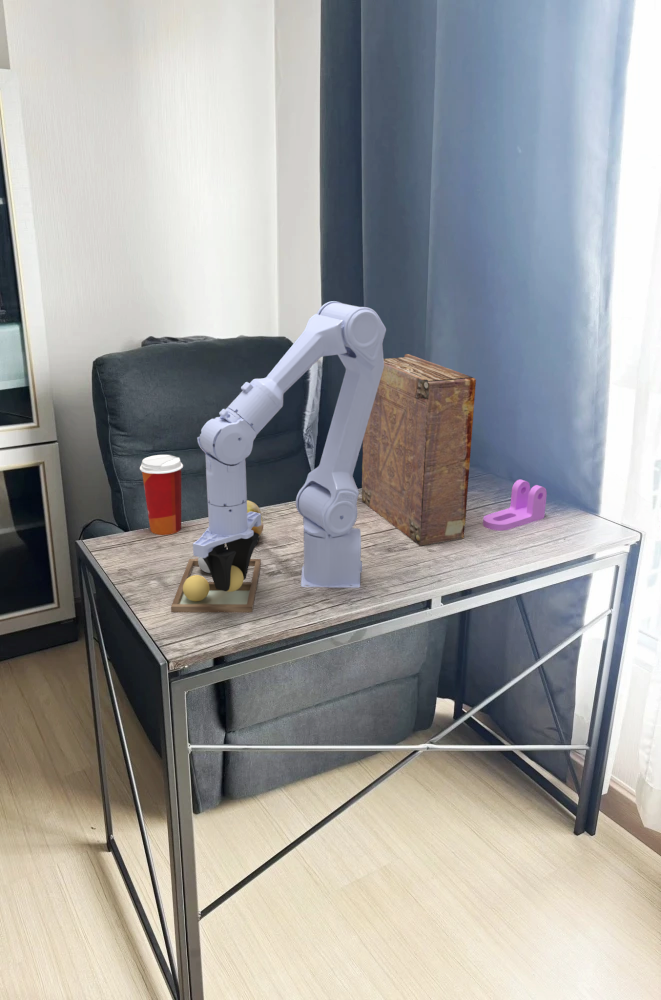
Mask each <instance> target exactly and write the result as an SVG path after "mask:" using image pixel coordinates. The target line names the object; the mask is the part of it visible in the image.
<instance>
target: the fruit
mask: <svg viewBox="0 0 661 1000" xmlns="http://www.w3.org/2000/svg"><path fill="white" fill-rule="evenodd" d="M250 511H251V512H256V513H261V525H260V526H258V527H255V526H254V527H252V529H251V530H253V532H255V533H258V534H259V537H260V536H261V535H262V533H263V531H264V520H263V515H262V512H261V509H260V507H259V506H258V505H257V504H256V503H255V502H253V501H252V500H248V499H247V513H248V512H250Z"/></svg>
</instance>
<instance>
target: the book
mask: <svg viewBox="0 0 661 1000" xmlns="http://www.w3.org/2000/svg"><path fill="white" fill-rule="evenodd" d="M476 383H477V379H476V378H475V377H474V376H471V375H468V374H464V373H462V372H459V371H456V370H454V369H451V368H448V367H445V366H443V365H440V364H437V363H434V362H431V361H428V360H425V359H423V358H421V357H420V358H419V357H417V356H415V355H412V354H410V353H409V354H408V353H405V354H404V357H392V358H384V368H383V372H382V376H381V379H380V382H379V386H378V389H377V393H376V396H375V400H374V403H373V407H372V410H371V413H370V417H369V420H368V424H367V427H366V431H365V434H364V438H363V441H362V463H361V464H362V465H361V469H362V470H361V472H362V473H361V474H362V475H361V501H362V503H363V504H364V505H365V506H367V507H369V508H370V509H371V510H372V511H374V512H375V513H376V514H377V515H379V516H380V517H381V518H382V519H384V520H385V521H387V522H388V523H389V524H391V525H392V526H393V527H395V528H396V529H397V530H399V531H400V532H401V533H403V534H404V535H405V536H406V537H407V538H409V539H411V540H412V541H413V542H414V543H416V544H417V545H418V546H419V547H420V546H422V547H423V546H426V545H427V546H428V545H432V544H438V543H443V542H449V541H450V542H451V541H455V540H461V539H464V538H465V534H466V533H465V531H466V529H465V528H466V517H467V506H468V503H467V502H468V492H469V490H468V488H469V478H470V477H469V475H470V466H471V465H470V464H471V451H472V438H473V424H474V412H475V411H474V410H475V400H476V399H475V398H476V397H475V396H476Z"/></svg>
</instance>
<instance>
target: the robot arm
mask: <svg viewBox="0 0 661 1000" xmlns="http://www.w3.org/2000/svg"><path fill="white" fill-rule="evenodd" d="M386 332H387V328H386V326H385V324H384V323H383V321H382V319H381V317H380V315H378V313H377V311H375V310H374V309H372V308H370V307H366V306H357V305H353V304H352V305H351V304H347V303H343V302H340V301H335V300H333V301H328V302H325V303H324V304H323V305H321V306H320V307H319V309H318V310H317V312H316V313H315V314H313V315H312V316H311V317H309V319H308V320H307V323H306V326H305V328H304V330H303V331H302V333H301V334H300V335H299V336H298V338H297V339H296V340H295V342H293V344H292V345H291V347H290V348H289V349H288V350H287V351H286V352H285V354H283V356H282V357H281V358H280V360H279V361H278V362H277V363H276V364H275V366H274V367H273V368H272V370H271V371H270V372H269V373H268V374H267V376H266V377H264V378H254V379H252V380H251V381H250V382H248V381H246V382H244V383H243V385H242V386H241V387H240V389H241V392H239V394H238V395H237V396H236V398H234V399H233V400H232V402H230V404H229V405H228V406H226V408H222V409H221V410H220V411H219V412H218V413H219V414H218V415H219V416H216V417H214V418H211V419H209V420H207V421H206V423H204V425H203V426H202V428H201V430H200V432H201V433H199V436H197V437H196V439H197V444H198V446H199V448H200V449H201V450H202V451H203V452H204V455H205V468H206V469H205V475H206V476H205V478H206V495H207V497H206V498H207V499H206V500H207V514H208V515H207V516H208V527H207V528H206V529H205V531H204V532H203V533H202V535H201V536H200V537H199V538H198V539H197V540H195V542H193V543H192V551H193V552H192V555H193V556H194V557H198V558H199V557H201V558H203V559H204V561H205V563H206V564H207V566H208V568H209V570H210V573H209V574H210V575H211V578H212V582H214V584H215V587H216V589H219V590H222V591H228V590H229V588H230V579H231V566H232V565H233V566H236V567H238V568H239V569H240V570H241V571H242V573H243V577H244V580H245V579H247V575H248V571H249V567H250V566H249V563H250V559H252V556H253V553H254V550H255V548H256V547H257V544H258V542H259V541H260V536H259V534H258V533H255V532H253V530H251V529H252V527H254V526H255V527H258V526H260V525H261V515H262V512H261V513H256V512H251V511H250V512H248V513H247V500H248V496H247V495H248V494H247V493H248V492H247V469H246V458H248V457H249V456H250V455H251V453H252V450H253V447H254V440H255V439H256V437H257V435H258V434H259V433H260V432H261V430H263V428H265V426H266V425H267V424H268V423H269V422H270V421H271V420H272V419H273V418H274V416H275V415H276V414H277V413H279V411H280V410H281V409H282V408H283V406H284V394H285V393H286V392H287V391H288V390H289V389H290V388H291V387H292V386H293V385H294V384H295V383H296V382H298V380H299V379H300V378H302V377H303V375H304V374H306V372H307V371H309V369H311V368H312V366H314V364H316V363H317V362H318V360H320V359H321V358H322V357H328V356H338V358H339V360H340V361H341V363H342V364H343V366H344V368H345V373H344V376H343V379H342V383H341V387H340V391H339V394H338V397H337V401H336V404H335V408H334V410H333V411H334V412H333V416H332V418H331V422H330V426H329V430H328V433H327V436H326V441H325V444H324V447H323V451H322V453H321V454H322V455H321V458H320V462H319V465H318V466H317V467H315V468H314V469H313V470H311V471H310V472H309V473H308V474H307V477H306V480H305V483H304V484H303V485H302V487H301V488H300V489H299V491H298V493H297V495H296V498H295V507H296V511H297V513H298V514H299V515H300V516H302V524H303V565H302V566H301V567H302V568H301V577H300V587H302V588H331V589H339V588H341V589H342V588H345V589H346V588H347V589H351V588H352V589H356V588H358V589H359V588H361V573H362V572H363V561H362V560H361V559H362V557H361V555H362V536H361V533H362V532H361V528H359V527H358V528H357V527H354V526H355V523H356V522H357V519H358V505H357V504H358V503H357V502H358V498H359V493H360V491H359V489H358V487H357V485H356V482H355V479H354V477H353V476H354V471H355V468H356V466H357V461H358V457H359V455H360V454H359V453H360V451H361V448H362V446H363V438H364V434H365V431H366V427H367V424H368V420H369V417H370V413H371V410H372V407H373V403H374V400H375V396H376V393H377V389H378V386H379V382H380V379H381V376H382V372H383V368H384V359H385V358H384V350H383V349H384V348H383V347H384V346H383V342H384V340H385V339H384V338H385V336H386ZM225 545H226V546H225Z"/></svg>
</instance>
